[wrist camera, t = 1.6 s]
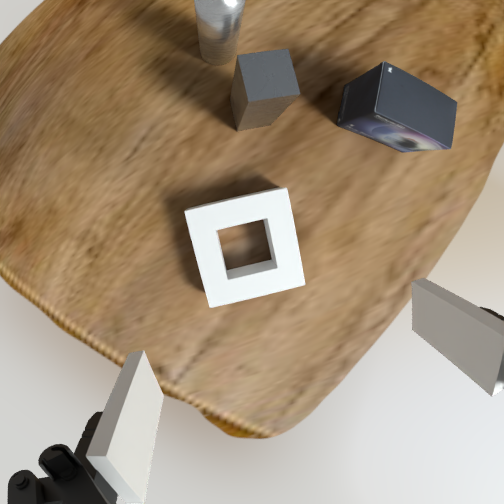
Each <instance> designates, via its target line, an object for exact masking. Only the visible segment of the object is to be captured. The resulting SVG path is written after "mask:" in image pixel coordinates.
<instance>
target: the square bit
mask: <svg viewBox="0 0 504 504" xmlns="http://www.w3.org/2000/svg"><path fill="white" fill-rule="evenodd" d="M299 95H300V91H299V87H298V83H297V79H296V75H295V72H294V68H293V64H292V61H291V57H290V53H289V50H288V49H282V50H273V51H265V52H257V53H250V54H243V55H237V61H236V66H235V72H234V78H233V84H232V90H231V96H230V103H231V107H232V112H233V116H234V120H235V125H236V129H237V131H242V130H247V129H253V128H258V127H263V126H269V125H271V124H272V123H273V122H274V121H275V120H276V119H277V118H278V117H279V116H280V115H281V114H282V113H283V112H284V110H285V109H286V108H287V107H288V106H289V105H290V104H291V103H292V102H293V101H294V100H295V99H296V98H297V97H298V96H299Z"/></svg>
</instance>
